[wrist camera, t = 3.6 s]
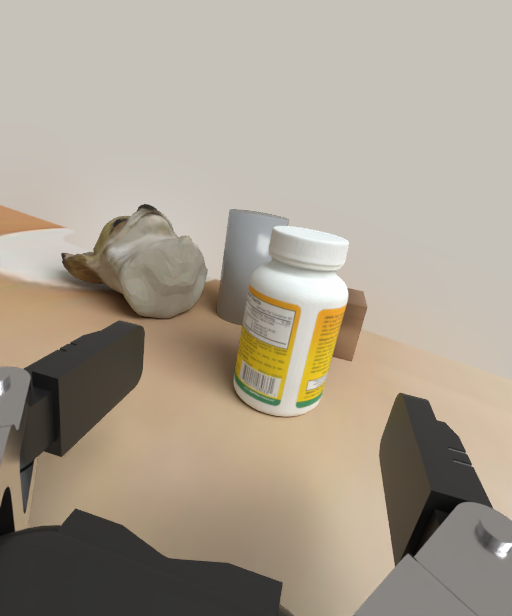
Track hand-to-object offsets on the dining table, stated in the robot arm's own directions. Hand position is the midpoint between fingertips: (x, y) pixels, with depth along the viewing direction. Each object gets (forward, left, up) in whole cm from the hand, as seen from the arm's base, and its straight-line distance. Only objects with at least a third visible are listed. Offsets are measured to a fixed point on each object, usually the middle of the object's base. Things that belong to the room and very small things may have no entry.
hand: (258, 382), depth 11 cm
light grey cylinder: (-5, +20, -6) cm, 22 cm away
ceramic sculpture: (-15, +19, -6) cm, 24 cm away
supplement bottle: (0, +9, -6) cm, 11 cm away
